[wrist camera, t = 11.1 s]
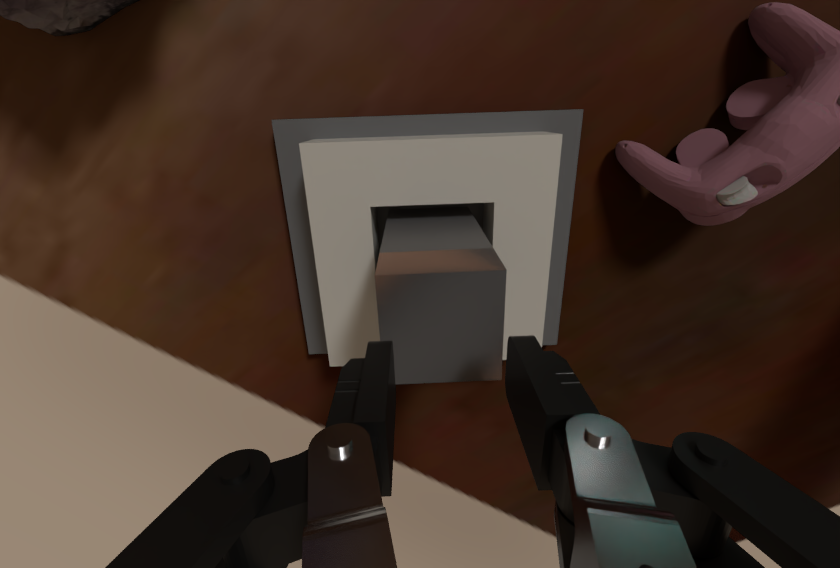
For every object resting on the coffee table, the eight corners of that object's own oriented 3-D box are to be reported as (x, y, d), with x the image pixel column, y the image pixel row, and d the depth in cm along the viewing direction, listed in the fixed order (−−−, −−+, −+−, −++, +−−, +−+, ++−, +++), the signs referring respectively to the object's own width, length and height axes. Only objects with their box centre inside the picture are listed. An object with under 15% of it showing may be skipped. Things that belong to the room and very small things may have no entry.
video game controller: (627, 192, 25) (727, 256, 20) (600, 148, 22) (709, 211, 17) (771, 57, 23) (926, 94, 18) (762, -13, 20) (946, 8, 15)
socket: (576, 109, 22) (609, 108, 18) (551, 336, 27) (573, 371, 24) (277, 119, 22) (250, 121, 18) (312, 346, 27) (297, 382, 24)
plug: (467, 206, 23) (506, 270, 14) (467, 279, 25) (501, 379, 15) (388, 209, 23) (374, 275, 14) (393, 282, 24) (383, 384, 15)
